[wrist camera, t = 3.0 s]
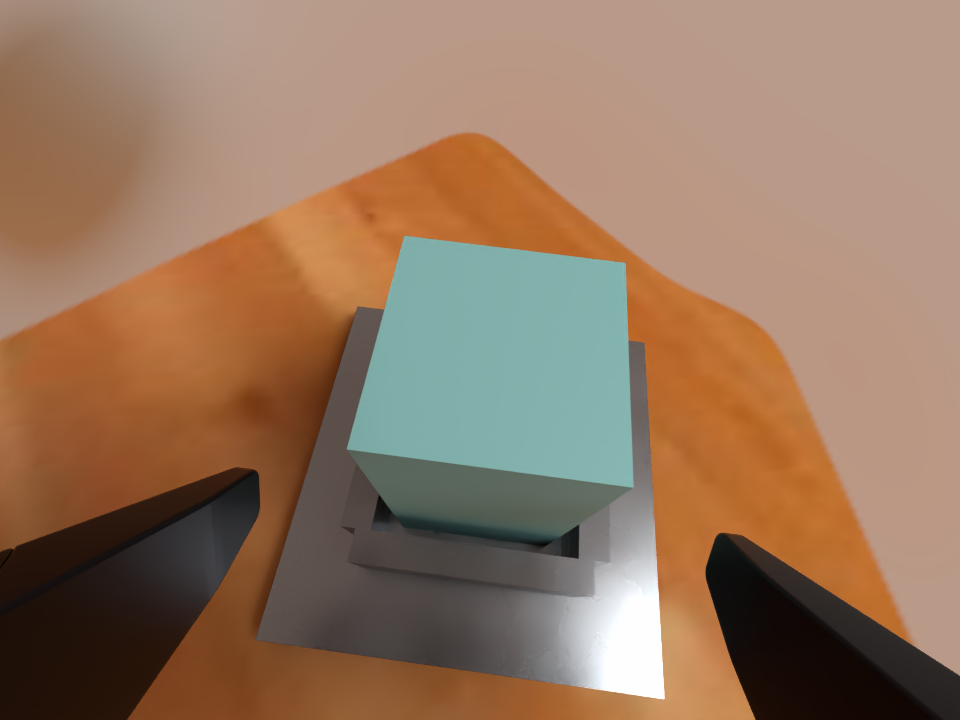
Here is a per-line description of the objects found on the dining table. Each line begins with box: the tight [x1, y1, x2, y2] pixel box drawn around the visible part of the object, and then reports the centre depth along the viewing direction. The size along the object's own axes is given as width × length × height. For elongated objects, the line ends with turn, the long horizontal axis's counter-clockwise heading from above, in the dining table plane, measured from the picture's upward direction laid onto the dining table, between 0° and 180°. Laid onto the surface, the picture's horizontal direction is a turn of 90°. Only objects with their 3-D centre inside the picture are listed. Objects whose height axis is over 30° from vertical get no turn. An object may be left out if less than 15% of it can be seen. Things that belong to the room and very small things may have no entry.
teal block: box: [347, 236, 634, 547], centre depth 14 cm, size 6×6×10 cm
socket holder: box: [256, 307, 664, 699], centre depth 18 cm, size 14×14×4 cm
